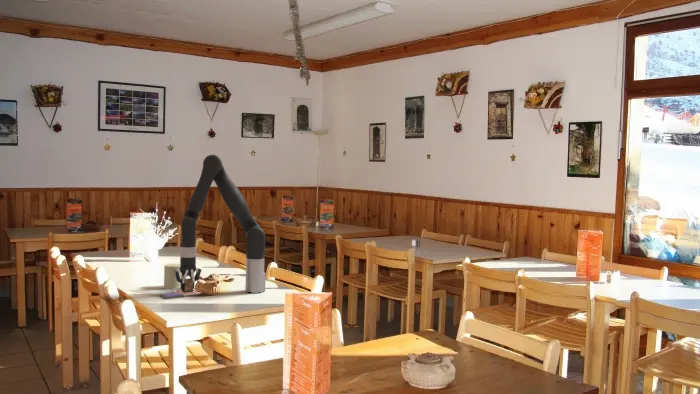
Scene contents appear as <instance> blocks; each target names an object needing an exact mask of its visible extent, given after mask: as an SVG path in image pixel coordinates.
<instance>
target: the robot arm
mask: <svg viewBox="0 0 700 394" xmlns="http://www.w3.org/2000/svg"><path fill="white" fill-rule="evenodd" d="M213 182H214V183H215V185H216V186H217V189H218V192H219V194H220V196H221V197H222V199H223V202H224V204H225V205H226V207H227V209H228V210H229V212H231V214H232V215H233V217H234V218H235V219H236V220H237V221H238V222H239V224H240V226H241V228H242V230H243V231H244V234H245V236H246V251H245V252H246V253H245V287H244V288H245V290H244V291H245V293H248V292H251V293H250V294H259V293H258V292H261V293H263V292H262V291H264V292H266V279H267V278H266V275H267V274H266V272H265V255H266V254H265V253H266V232H265V231H264V229H263V228H262V227H261V226H260V224H258V222H257V221H256V219H255V218H254V216H253V214H252V212H251V210H250V208H249V205H248V203H247V201H246V199H245V197H244V196H243V194H242V193H241V191H240V190H239V188H238V186H237V185H236V184H235V183H234V181H233V180H232V179H231V178H230V177H229V174H228V173H227V171H226V169H225V167H224V165H223V161H222V159H221V158H220V156H219V155H217V154H216V155H215V154H208V155H207V156H206V157H205V158H204V160H203V162H202V169H201V174H200V178H199V179H198V182H197V184H196V186H195V188H194V190H193V193H192V194H191V197H190V199H189V203H188V204H187V209H186V210H185V212H184V215H183V216H182V219H181V240H180V252H179V257H180V258H179V262H180V263H179V264H180V268H179V270H177V271H176V270H175V271H174V273H175V276H176V279H177V281H178V282H180V283H181V288H180V290H183V291H184V290H185V279H187V277H189V279H192V280H193V289H195V282H198V281H199V279H200V276H201V274H202V269H201V268H198V267H197V266H196V265H197V262H196V261H197V249H196V245H197V244H196V243H197V241H196V240H197V238H196V233H197V222H198V219H199V216H200V213H201V212H202V210H203V208H204V206H205V203H206V200H207V198H208V195H209V192H210V189H211V187H212V184H213ZM180 272H181V273H182V275H181V279H180V276H179V274H180ZM194 273H195V274H194Z"/></svg>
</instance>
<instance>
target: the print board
mask: <svg viewBox="0 0 700 394" xmlns="http://www.w3.org/2000/svg"><path fill="white" fill-rule="evenodd" d="M181 290H182V289H179V290H178V289H174V290H172V293H174V292H178V293H181V294H183V295H184V296H192V295H199V294H200V293H201V292H202V291H201V292H198V291H199V290H198V291H196V290H197V289H196V290H195V288H193V292H187V293H184V292H182V291H181ZM201 294H202V293H201Z"/></svg>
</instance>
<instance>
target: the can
mask: <svg viewBox="0 0 700 394" xmlns="http://www.w3.org/2000/svg"><path fill="white" fill-rule="evenodd" d="M163 268H164V269H163V270H164V271H163V272H164V273H163V277H164V278H163V288H164V289H165V290H166V289H168V290H178V289H181V283H180V282H178V281H177V279H176V276H175V273H174V271H175V270H176V271H177V270H179V268H180V263H167V264H164V267H163ZM181 275H182V273H181V272H180V274H179V276H180V279H181Z"/></svg>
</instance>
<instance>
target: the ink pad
mask: <svg viewBox="0 0 700 394" xmlns="http://www.w3.org/2000/svg"><path fill="white" fill-rule="evenodd" d="M159 297H161V298H163V299H164V300H171V299H172V300H173V299H179V298H185V295H183V294H181V293H178V292H167V293H161V294H160V295H159Z"/></svg>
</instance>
